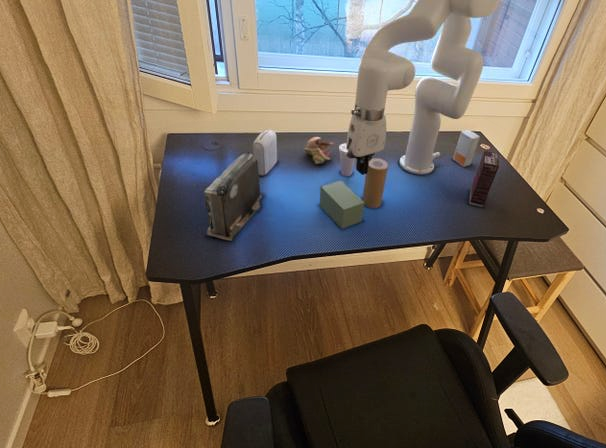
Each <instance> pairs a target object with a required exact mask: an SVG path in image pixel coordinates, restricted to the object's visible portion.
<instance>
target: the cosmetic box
mask: <svg viewBox="0 0 606 448" xmlns="http://www.w3.org/2000/svg"><path fill="white" fill-rule="evenodd" d="M480 139H481V136H480V135H478V134H477V133H475V131H474V132H473V131H472V130H470V129H465V130H461V132H460V134H459V138H458V141H457V144H456V147H455V150H454V154H453V156H452V160H453V161H455V163H458V164H459V165H460V166H462V167H463V168H464V167H467V166H470V165H471V164H472V161H473V159H474V155H475V153H476V150H477V147H478V144H479V141H480Z"/></svg>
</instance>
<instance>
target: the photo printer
mask: <svg viewBox="0 0 606 448" xmlns="http://www.w3.org/2000/svg"><path fill="white" fill-rule="evenodd" d="M277 145H278V144H277V134H276V131H274V129H265V130H263V131H262V132H261V133H260V134H258V135H257V137H256V138H255V139H254V141H253V144H252V153H253V154H252V155H253V156H255V157H256V158H257V161H258V172H259V176H266V175H267V174H269V172H270V171H271V170H272V169H273V168H274V167H275V165H276V164H277V162H278V147H277Z"/></svg>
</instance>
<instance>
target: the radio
mask: <svg viewBox="0 0 606 448" xmlns="http://www.w3.org/2000/svg"><path fill="white" fill-rule="evenodd" d="M260 185H261V184H260V175H259V172H258V161H257V158H256V157H255V156H253V154H251V152H249V151H247V152H246V153H242V154H241V155H239V157H237V158H236V159H235V160H234V161H233V162H232V163H231V164H229V166H227V168H226V169H225V170H223V171H222V173H221V174H220V175H219V176H218V177H215V179H214V180H212V181H211V183H210V184H209V186H207V188H206V189H205V190H204V191H203V192H204V199H205V207H206V213H207V218H208V219H207V220H208V224H209V226H208V228H207V231H206V236H210V237H214V238H218V239H222V240H224V241H230V242H232V241H233V240H234V239H235V237H237V235H238V234H239V233H240V231H242V229H243V228H244V227H245V225H246V224H248V222H249V221H250V220H251V219H252V217H253V216H254V215H255V214H256V212H258V210H260V208H261V207H260V200H261V199H262V197H263V195H262V194H261V188H260V187H261V186H260Z"/></svg>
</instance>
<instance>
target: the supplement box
mask: <svg viewBox="0 0 606 448" xmlns="http://www.w3.org/2000/svg"><path fill="white" fill-rule="evenodd" d="M499 162H500V161H499V153H498V152H497V153H496V152H493V151H490V150H489V151H488V150H484V151H483V153H482V156H481V159H480V161H479V164H478V168H477V170H476V173H475V175H474V178H473V181H472V183H471V184H472V185H471V186H470V189H469V202H468V203H469V205H472V206H475V207H480V208H483V207H484V205H485V202H486V200H487V198H488V195H489V193H490V190H491V188H492V185H493V183H494V180H495V177H496V175H497V173H498V171H499V168H500V163H499Z"/></svg>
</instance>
